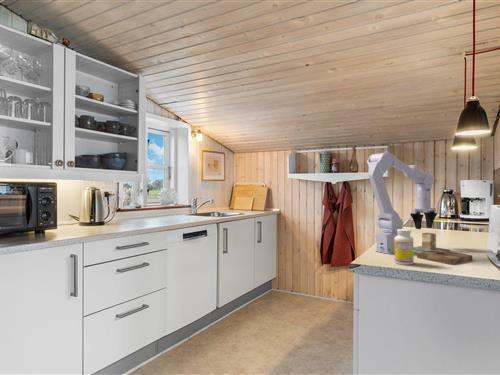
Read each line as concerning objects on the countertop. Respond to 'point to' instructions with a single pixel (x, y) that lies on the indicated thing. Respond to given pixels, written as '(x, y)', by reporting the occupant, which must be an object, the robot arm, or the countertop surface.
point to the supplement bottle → (404, 247)
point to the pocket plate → (444, 256)
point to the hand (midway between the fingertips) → (423, 228)
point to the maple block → (428, 241)
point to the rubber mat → (428, 250)
